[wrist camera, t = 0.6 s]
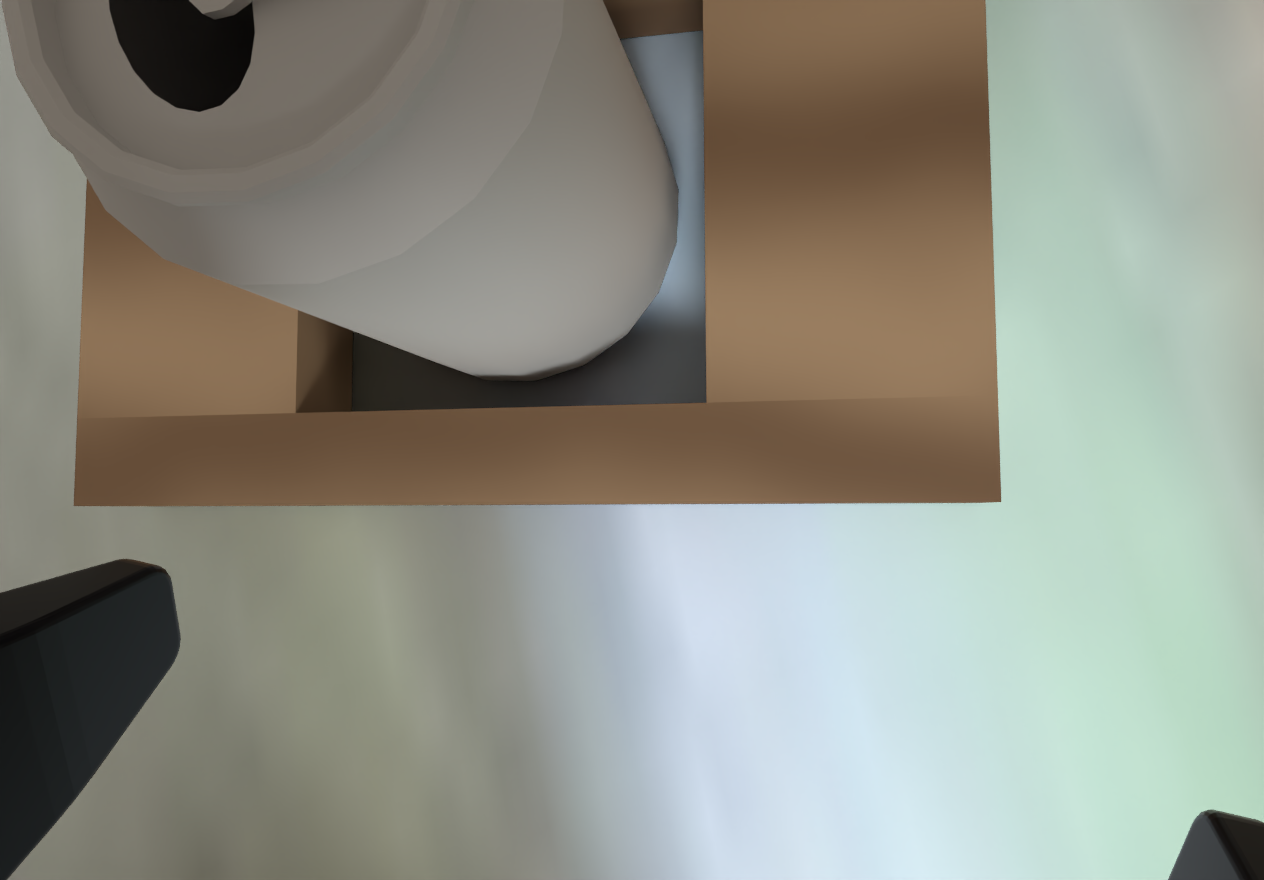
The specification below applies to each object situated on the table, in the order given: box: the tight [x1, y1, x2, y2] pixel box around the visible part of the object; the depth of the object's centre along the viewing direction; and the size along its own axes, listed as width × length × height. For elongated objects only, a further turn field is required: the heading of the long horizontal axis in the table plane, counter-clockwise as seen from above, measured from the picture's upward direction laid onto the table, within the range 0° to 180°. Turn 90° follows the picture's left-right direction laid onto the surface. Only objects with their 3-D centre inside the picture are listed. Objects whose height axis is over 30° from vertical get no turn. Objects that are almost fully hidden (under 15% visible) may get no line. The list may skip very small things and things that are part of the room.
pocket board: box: [74, 0, 1001, 506], centre depth 21 cm, size 14×20×2 cm
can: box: [2, 0, 678, 381], centre depth 17 cm, size 8×8×12 cm
